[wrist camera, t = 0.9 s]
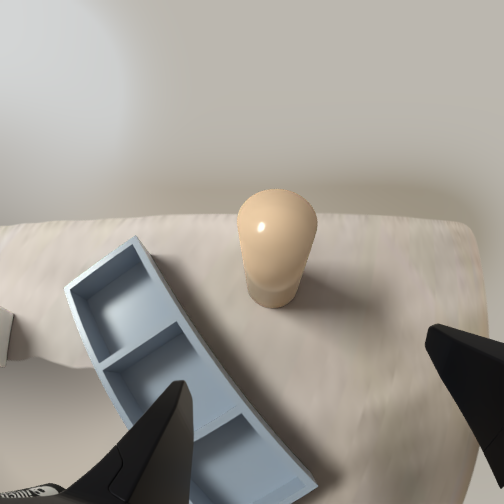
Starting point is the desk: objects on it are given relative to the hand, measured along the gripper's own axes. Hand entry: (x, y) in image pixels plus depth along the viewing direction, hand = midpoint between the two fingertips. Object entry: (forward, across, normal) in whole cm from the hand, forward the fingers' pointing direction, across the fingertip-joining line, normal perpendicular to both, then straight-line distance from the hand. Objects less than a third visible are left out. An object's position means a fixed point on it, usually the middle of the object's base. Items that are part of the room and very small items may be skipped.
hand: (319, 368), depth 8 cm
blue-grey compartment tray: (+10, +9, +9) cm, 16 cm away
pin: (+15, 0, +4) cm, 16 cm away
